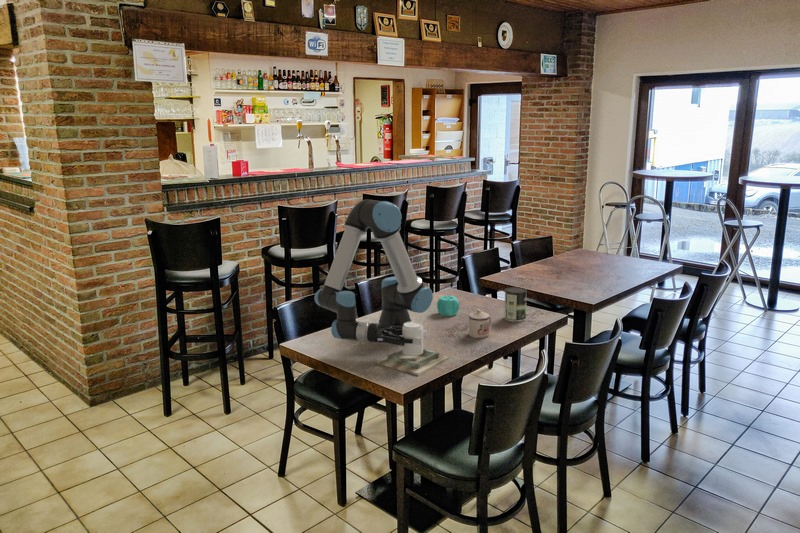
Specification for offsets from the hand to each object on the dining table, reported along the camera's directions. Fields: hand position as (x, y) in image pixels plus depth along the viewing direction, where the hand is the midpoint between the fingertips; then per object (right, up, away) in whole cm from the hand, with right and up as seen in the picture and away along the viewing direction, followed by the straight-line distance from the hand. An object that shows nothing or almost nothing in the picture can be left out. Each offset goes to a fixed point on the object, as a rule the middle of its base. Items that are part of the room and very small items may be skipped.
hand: (424, 337), depth 237 cm
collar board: (-4, -10, +4) cm, 11 cm away
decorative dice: (+14, +4, +62) cm, 63 cm away
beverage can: (-4, -7, +3) cm, 9 cm away
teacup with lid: (+26, -2, +33) cm, 42 cm away
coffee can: (+45, +3, +53) cm, 69 cm away
